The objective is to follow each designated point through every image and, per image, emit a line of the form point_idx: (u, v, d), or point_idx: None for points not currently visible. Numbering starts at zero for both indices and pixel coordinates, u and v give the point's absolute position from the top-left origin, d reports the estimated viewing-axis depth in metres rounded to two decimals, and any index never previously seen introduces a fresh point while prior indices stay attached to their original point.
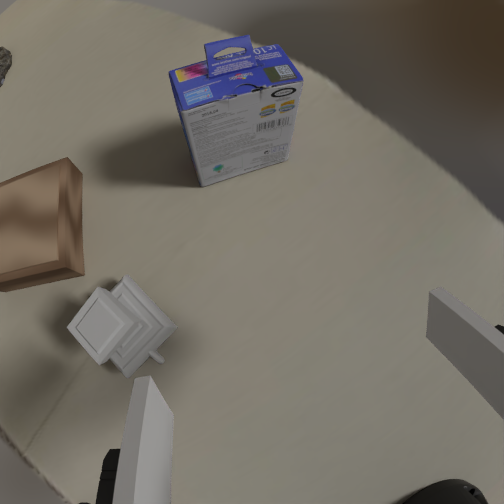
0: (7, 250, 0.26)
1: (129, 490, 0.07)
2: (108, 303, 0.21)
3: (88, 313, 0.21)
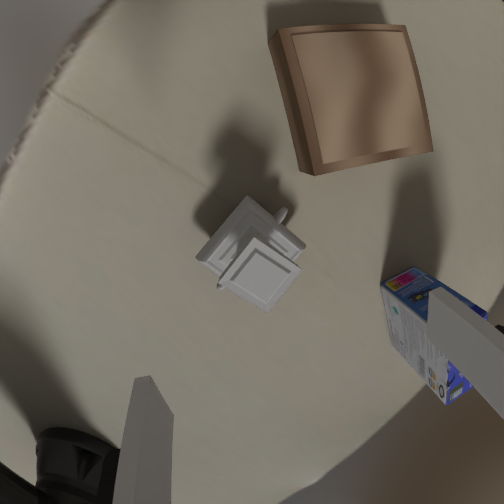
0: (331, 74, 0.21)
1: (129, 490, 0.07)
2: (285, 284, 0.22)
3: (273, 265, 0.21)
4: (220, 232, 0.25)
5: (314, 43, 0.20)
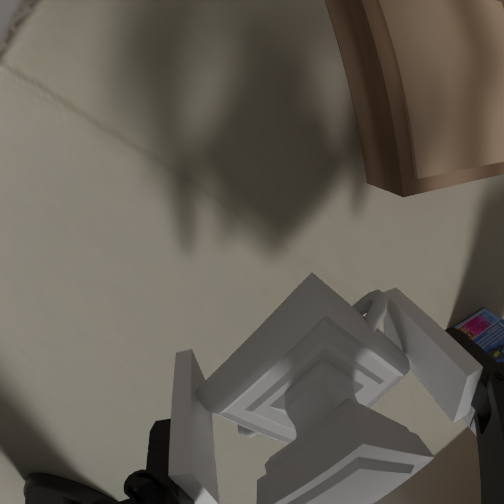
0: (429, 39, 0.11)
1: (185, 454, 0.08)
2: (395, 483, 0.07)
3: (387, 474, 0.07)
4: (250, 358, 0.11)
5: None
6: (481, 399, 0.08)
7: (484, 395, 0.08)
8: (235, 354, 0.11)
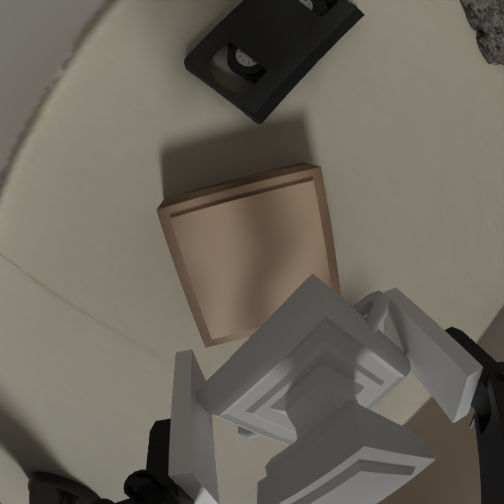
0: (216, 256, 0.23)
1: (185, 454, 0.08)
2: (396, 485, 0.07)
3: (389, 476, 0.07)
4: (250, 359, 0.11)
5: (196, 223, 0.22)
6: (481, 399, 0.08)
7: (484, 395, 0.08)
8: (235, 355, 0.11)
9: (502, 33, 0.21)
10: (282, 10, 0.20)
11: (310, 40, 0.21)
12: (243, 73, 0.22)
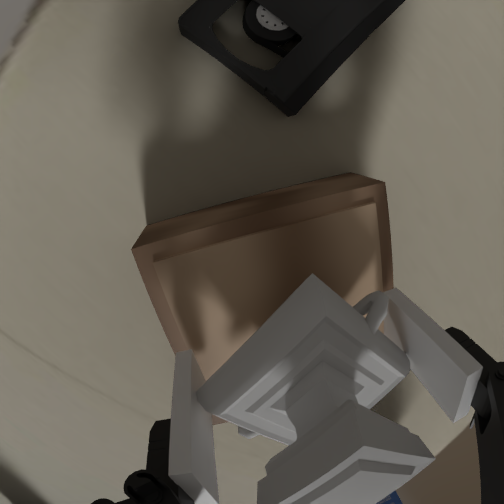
0: (225, 318, 0.15)
1: (185, 454, 0.08)
2: (396, 485, 0.07)
3: (388, 475, 0.07)
4: (250, 359, 0.11)
5: (193, 271, 0.14)
6: (481, 399, 0.08)
7: (484, 395, 0.08)
8: (235, 355, 0.11)
9: None
10: None
11: (361, 4, 0.13)
12: (267, 40, 0.14)
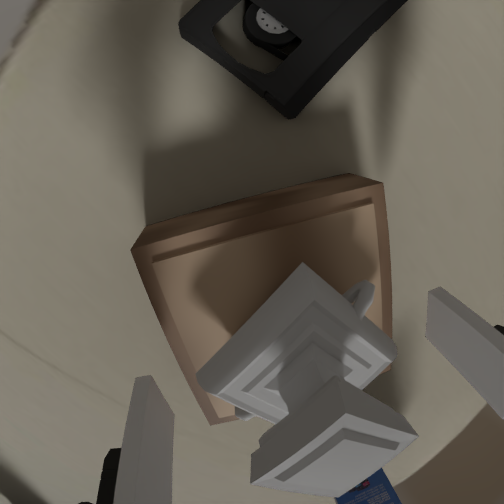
0: (224, 319, 0.15)
1: (130, 489, 0.07)
2: (382, 461, 0.08)
3: (373, 448, 0.08)
4: (245, 341, 0.12)
5: (192, 271, 0.14)
6: None
7: None
8: (232, 338, 0.12)
9: None
10: None
11: (361, 6, 0.13)
12: (267, 43, 0.14)
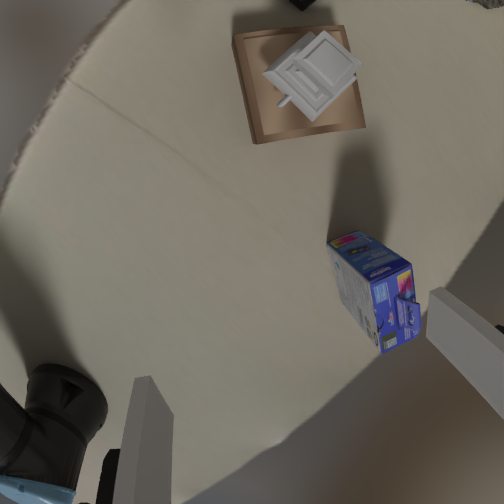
0: None
1: (129, 490, 0.07)
2: (349, 73, 0.21)
3: (339, 53, 0.21)
4: (286, 52, 0.25)
5: (260, 44, 0.27)
6: None
7: None
8: (280, 56, 0.25)
9: None
10: None
11: None
12: None
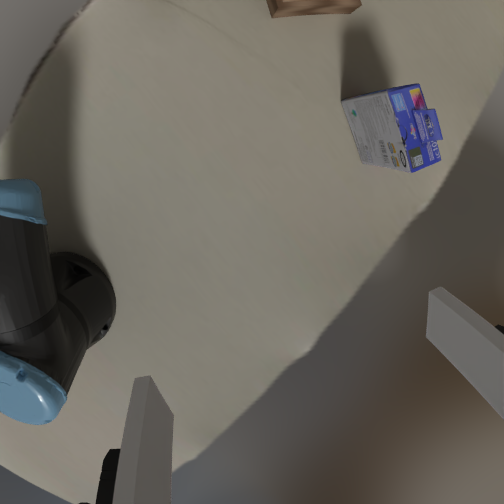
0: None
1: (129, 490, 0.07)
2: None
3: None
4: None
5: None
6: None
7: None
8: None
9: None
10: None
11: None
12: None
